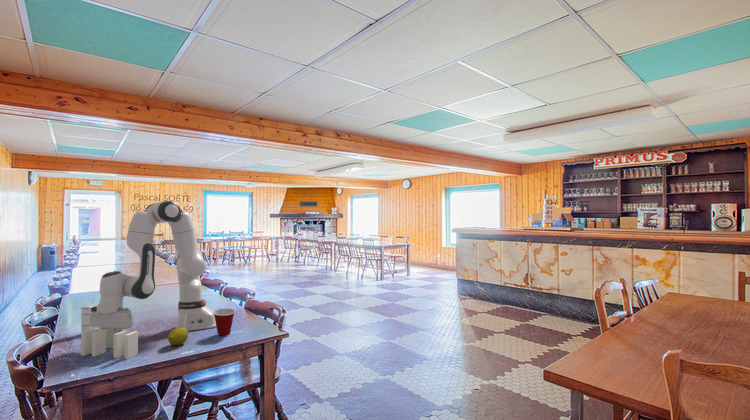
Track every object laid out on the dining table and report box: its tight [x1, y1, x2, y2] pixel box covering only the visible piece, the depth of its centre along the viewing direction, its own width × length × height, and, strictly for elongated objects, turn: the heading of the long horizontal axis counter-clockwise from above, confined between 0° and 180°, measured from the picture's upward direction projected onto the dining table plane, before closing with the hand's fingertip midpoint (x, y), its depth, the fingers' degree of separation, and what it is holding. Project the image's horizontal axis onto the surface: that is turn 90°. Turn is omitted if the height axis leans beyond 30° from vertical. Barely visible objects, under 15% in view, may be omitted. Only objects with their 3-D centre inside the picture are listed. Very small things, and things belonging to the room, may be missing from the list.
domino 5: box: [124, 331, 139, 360], centre depth 157 cm, size 2×5×10 cm, turn 170°
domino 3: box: [105, 328, 117, 349], centre depth 168 cm, size 2×5×10 cm, turn 80°
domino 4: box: [112, 330, 128, 359], centre depth 158 cm, size 2×5×10 cm, turn 170°
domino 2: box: [91, 329, 107, 357], centre depth 159 cm, size 2×5×10 cm, turn 170°
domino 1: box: [80, 329, 95, 357], centre depth 160 cm, size 2×5×10 cm, turn 170°
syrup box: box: [80, 303, 100, 332], centre depth 188 cm, size 6×6×14 cm
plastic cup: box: [213, 307, 236, 337], centre depth 186 cm, size 11×11×12 cm
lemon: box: [167, 327, 189, 346], centre depth 171 cm, size 11×8×8 cm
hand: (111, 337), depth 168 cm, fingers closed on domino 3, 5 cm apart
